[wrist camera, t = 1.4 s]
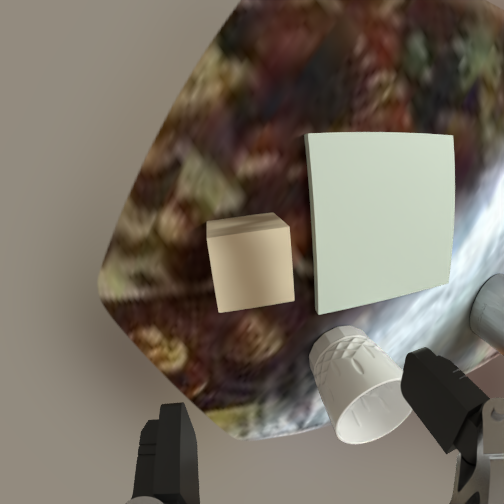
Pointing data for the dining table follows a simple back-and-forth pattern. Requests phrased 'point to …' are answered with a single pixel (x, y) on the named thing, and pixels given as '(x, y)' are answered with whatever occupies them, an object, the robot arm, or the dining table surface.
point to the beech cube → (250, 261)
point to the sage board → (379, 215)
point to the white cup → (357, 385)
